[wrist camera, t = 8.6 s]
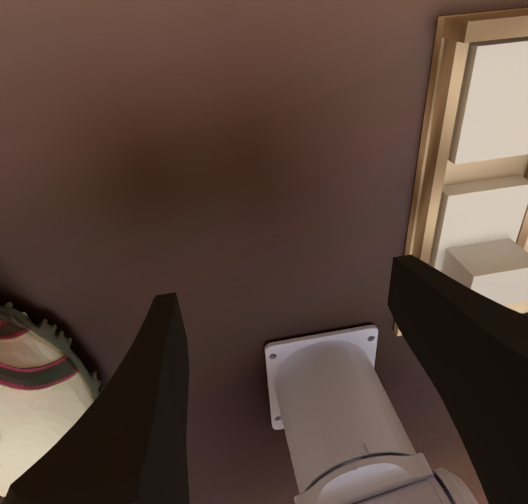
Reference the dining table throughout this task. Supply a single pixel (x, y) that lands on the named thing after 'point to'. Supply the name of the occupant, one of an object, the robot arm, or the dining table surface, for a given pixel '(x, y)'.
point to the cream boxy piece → (492, 190)
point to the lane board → (442, 124)
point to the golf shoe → (37, 391)
